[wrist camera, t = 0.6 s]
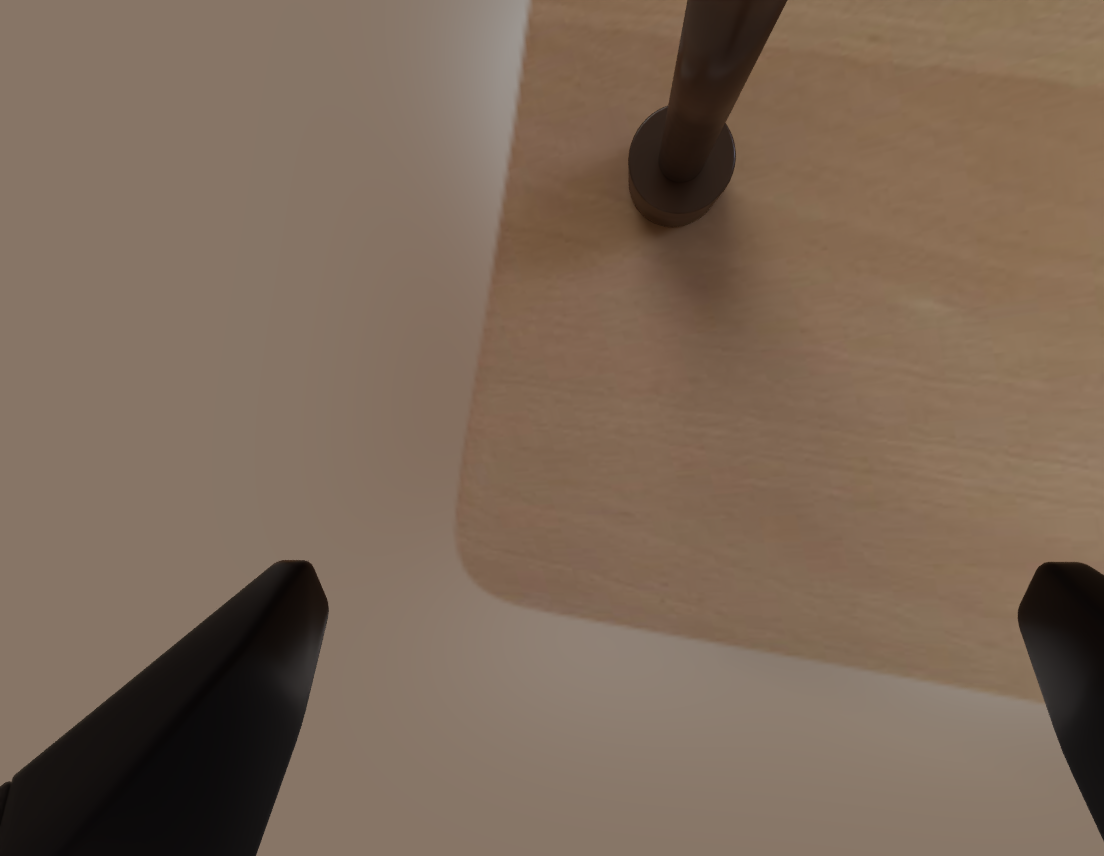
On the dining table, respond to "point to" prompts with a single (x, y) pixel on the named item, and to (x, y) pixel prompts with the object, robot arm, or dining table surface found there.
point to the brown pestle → (698, 111)
